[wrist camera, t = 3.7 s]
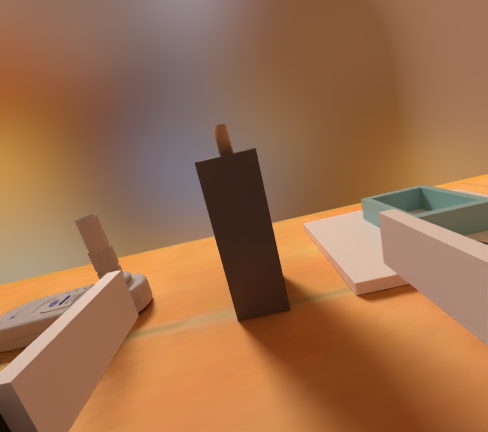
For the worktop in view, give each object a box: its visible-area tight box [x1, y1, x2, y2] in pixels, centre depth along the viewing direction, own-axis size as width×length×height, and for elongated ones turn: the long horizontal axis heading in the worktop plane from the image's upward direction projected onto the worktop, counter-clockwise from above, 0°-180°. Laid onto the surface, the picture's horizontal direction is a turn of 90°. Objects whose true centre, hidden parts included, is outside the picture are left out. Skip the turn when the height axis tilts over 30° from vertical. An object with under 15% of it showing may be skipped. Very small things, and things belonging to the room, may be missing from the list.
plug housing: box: [195, 124, 290, 321], centre depth 21 cm, size 4×6×14 cm, turn 1°
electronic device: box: [0, 214, 152, 352], centre depth 24 cm, size 5×10×15 cm
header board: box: [303, 185, 488, 295], centre depth 26 cm, size 20×16×4 cm
